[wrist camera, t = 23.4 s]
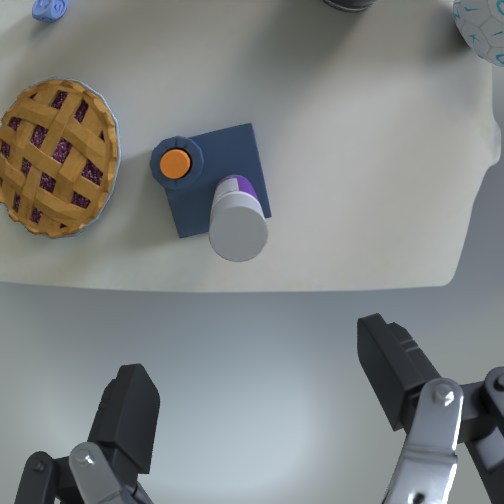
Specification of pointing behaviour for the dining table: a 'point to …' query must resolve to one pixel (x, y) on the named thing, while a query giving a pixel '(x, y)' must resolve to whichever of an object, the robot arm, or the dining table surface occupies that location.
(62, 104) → the pie
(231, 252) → the container
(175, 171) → the button
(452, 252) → the dining table surface
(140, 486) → the robot arm
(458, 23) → the puzzle ball
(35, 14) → the decorative dice
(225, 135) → the scale
